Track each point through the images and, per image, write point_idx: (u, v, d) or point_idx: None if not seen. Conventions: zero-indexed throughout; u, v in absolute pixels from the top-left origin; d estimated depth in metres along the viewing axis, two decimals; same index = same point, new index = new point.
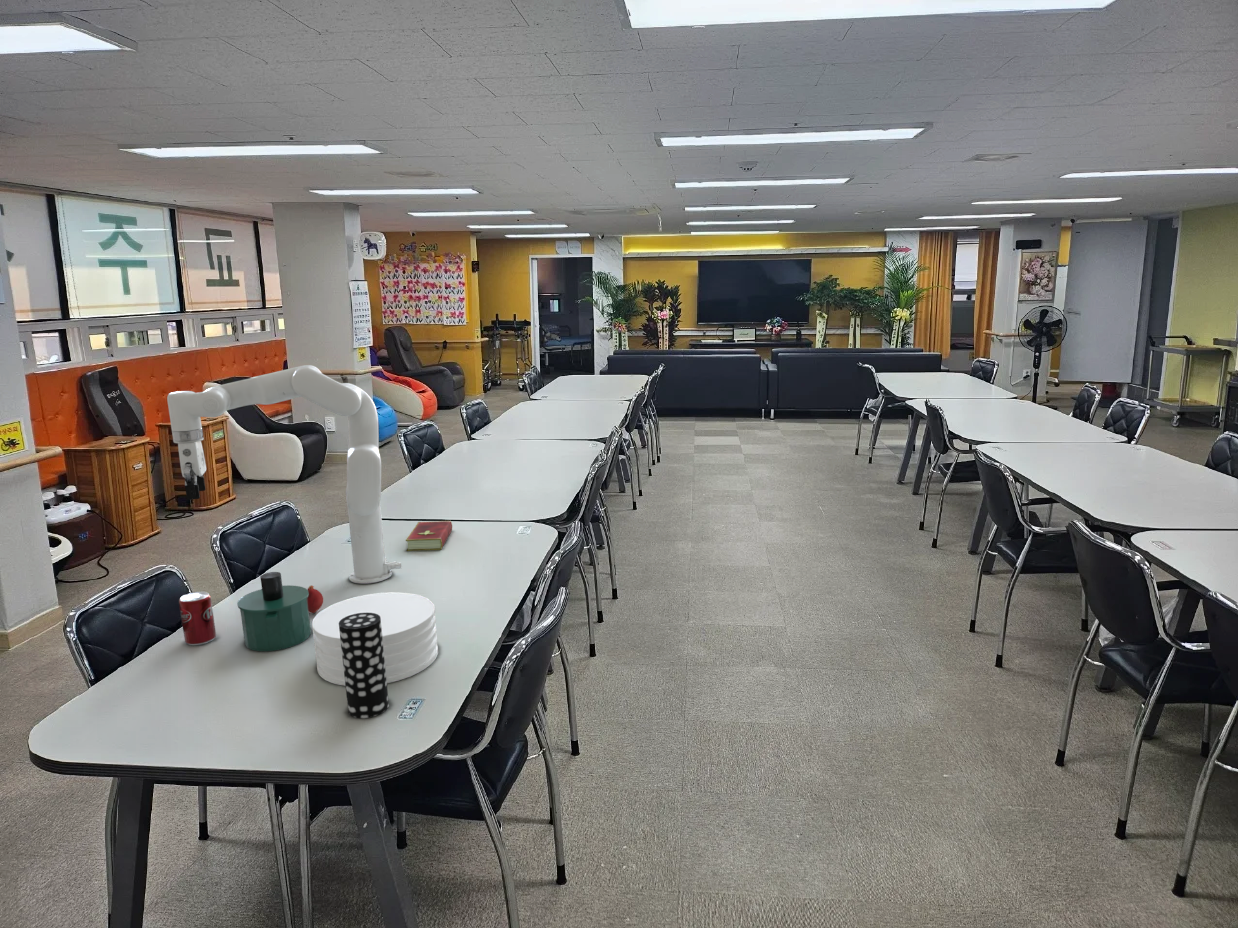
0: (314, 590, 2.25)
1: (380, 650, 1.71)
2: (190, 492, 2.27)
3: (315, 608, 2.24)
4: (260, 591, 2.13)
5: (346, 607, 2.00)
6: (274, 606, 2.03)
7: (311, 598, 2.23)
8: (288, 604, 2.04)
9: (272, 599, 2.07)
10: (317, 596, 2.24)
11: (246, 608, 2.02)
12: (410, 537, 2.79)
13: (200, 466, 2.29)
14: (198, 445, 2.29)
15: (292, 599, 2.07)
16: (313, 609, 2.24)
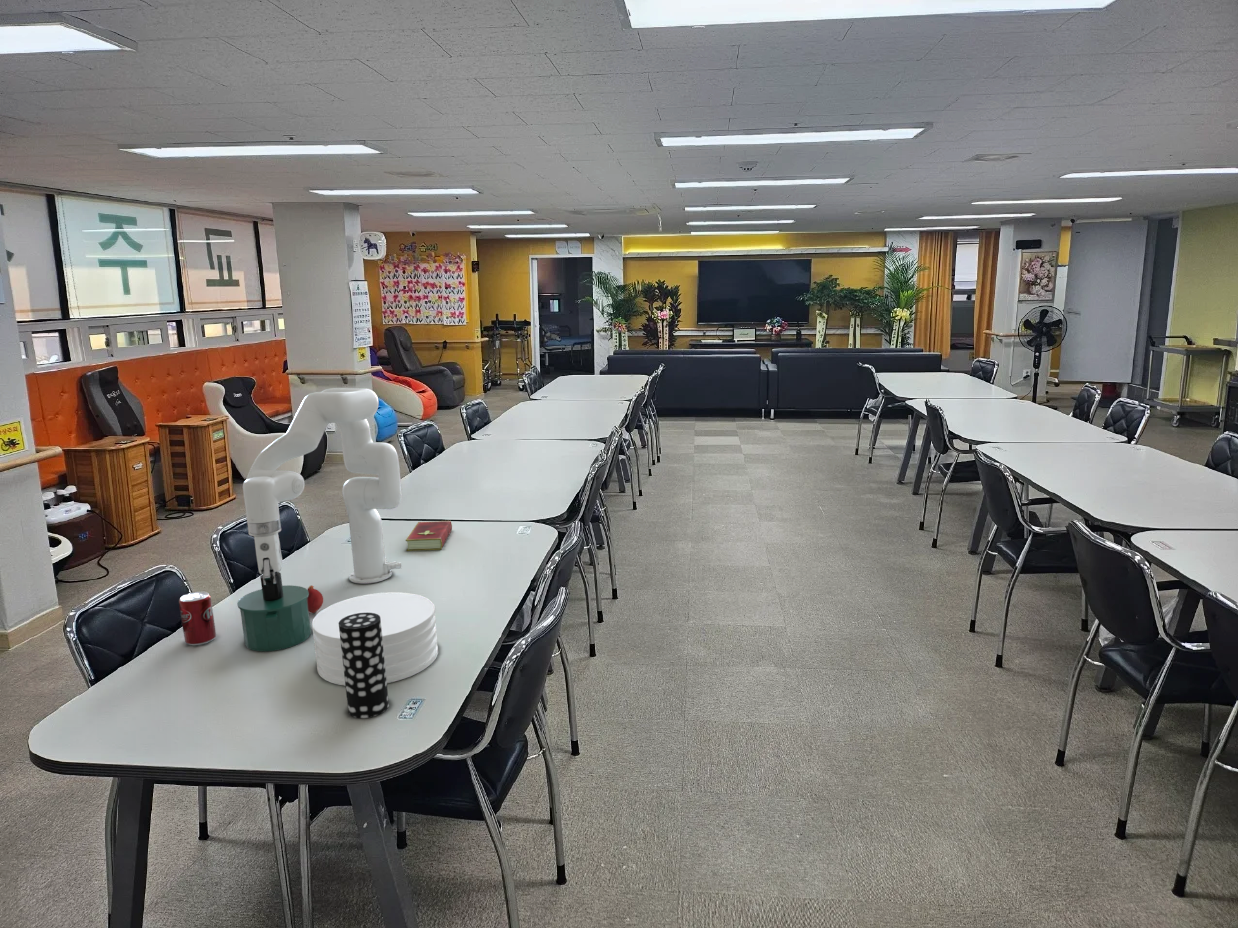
0: (314, 590, 2.25)
1: (380, 650, 1.71)
2: (269, 592, 2.05)
3: (315, 608, 2.24)
4: (260, 591, 2.13)
5: (346, 607, 2.00)
6: (274, 606, 2.03)
7: (311, 598, 2.23)
8: (288, 604, 2.04)
9: (272, 599, 2.07)
10: (317, 596, 2.24)
11: (246, 608, 2.02)
12: (410, 537, 2.79)
13: (278, 561, 2.04)
14: (276, 537, 2.04)
15: (292, 599, 2.07)
16: (313, 609, 2.24)
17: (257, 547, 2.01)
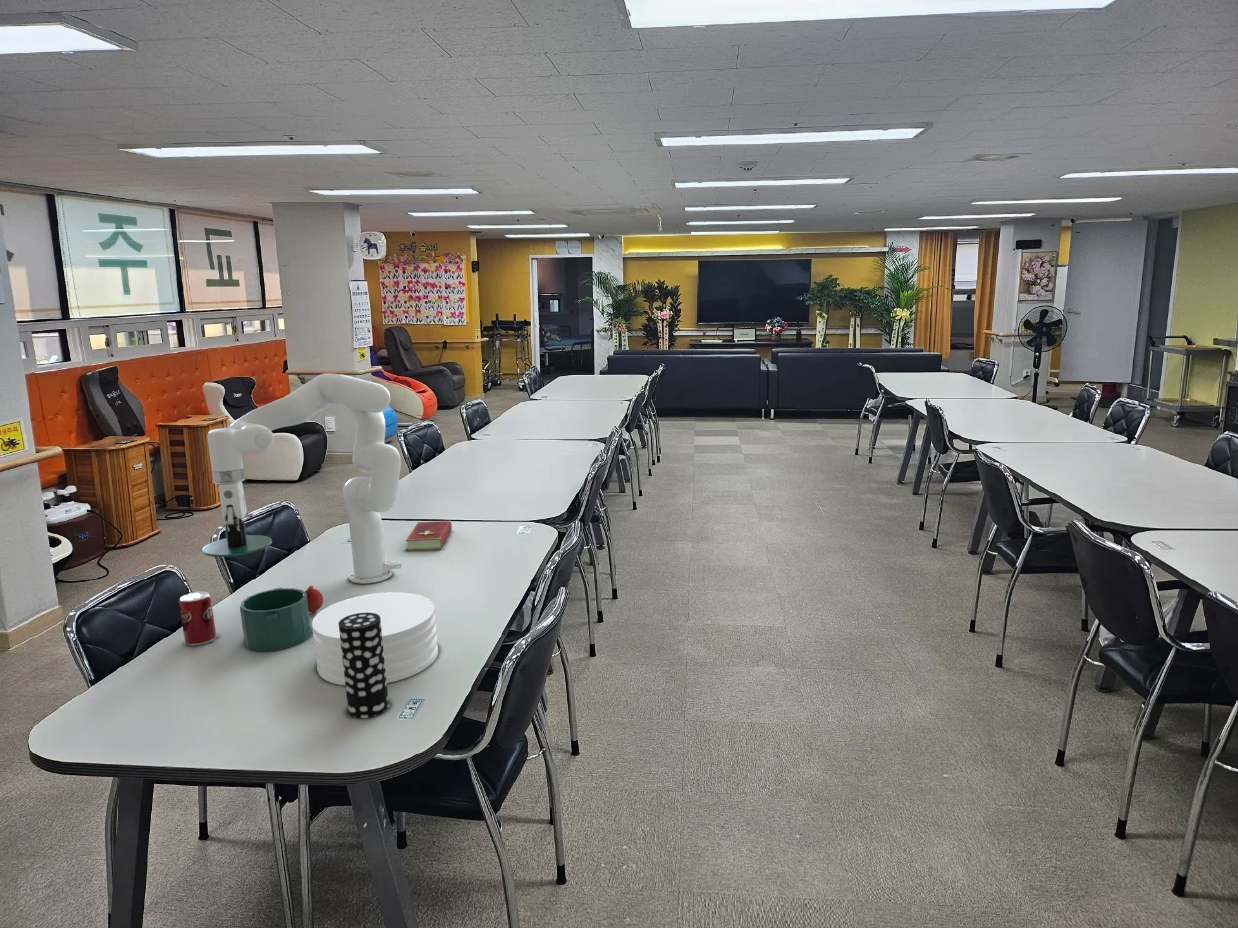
0: (314, 590, 2.25)
1: (380, 650, 1.71)
2: (232, 538, 2.14)
3: (315, 608, 2.24)
4: (225, 539, 2.23)
5: (346, 607, 2.00)
6: (238, 551, 2.12)
7: (311, 598, 2.23)
8: (251, 550, 2.13)
9: (236, 546, 2.16)
10: (317, 596, 2.24)
11: (210, 553, 2.11)
12: (410, 537, 2.79)
13: (242, 508, 2.13)
14: (240, 486, 2.14)
15: (255, 546, 2.17)
16: (313, 609, 2.24)
17: (221, 494, 2.10)
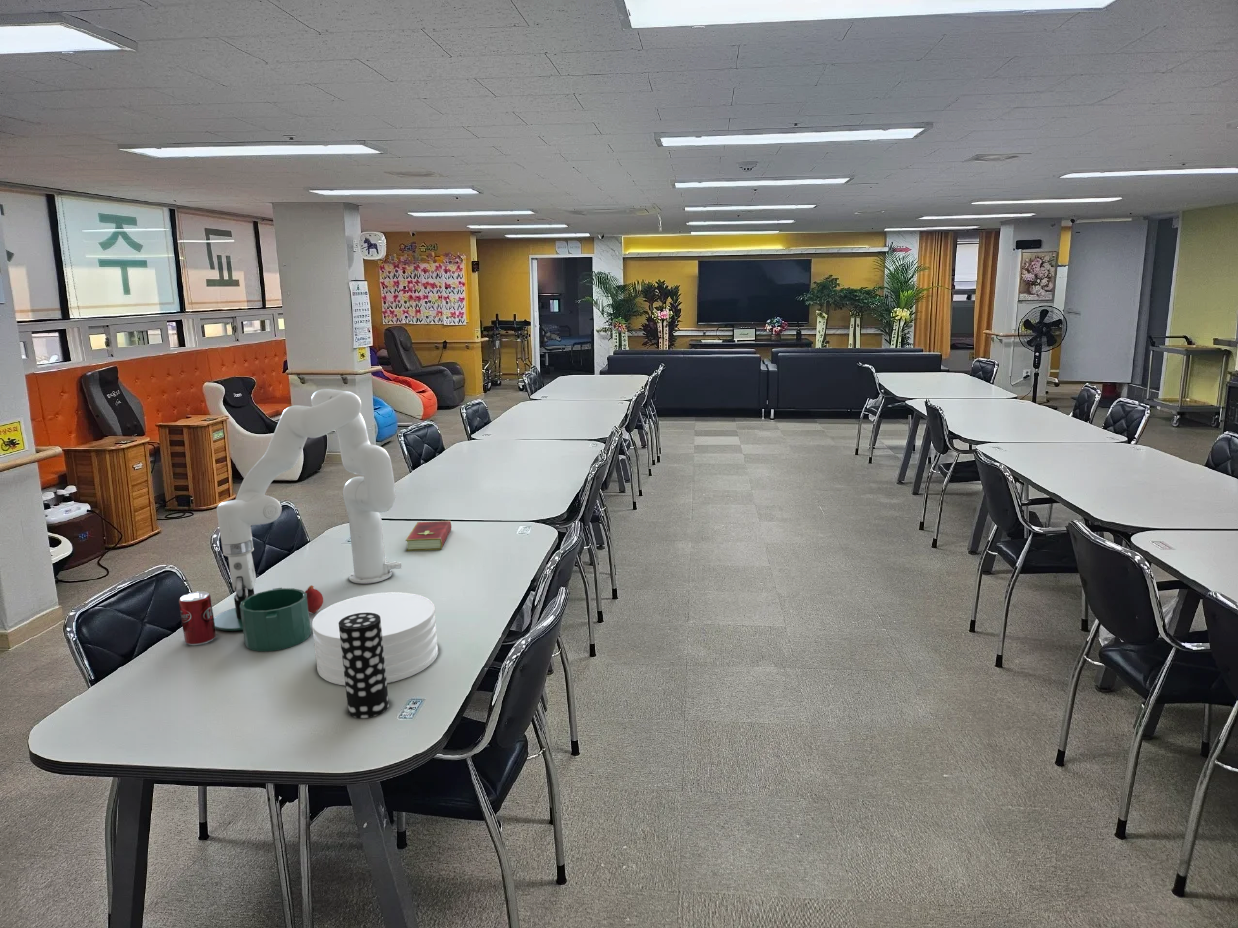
0: (314, 590, 2.25)
1: (380, 650, 1.71)
2: None
3: (315, 608, 2.24)
4: (234, 609, 2.27)
5: (346, 607, 2.00)
6: None
7: (311, 598, 2.23)
8: None
9: None
10: (317, 596, 2.24)
11: (220, 626, 2.16)
12: (410, 537, 2.79)
13: (251, 579, 2.18)
14: (249, 557, 2.18)
15: None
16: (313, 609, 2.24)
17: (231, 566, 2.15)
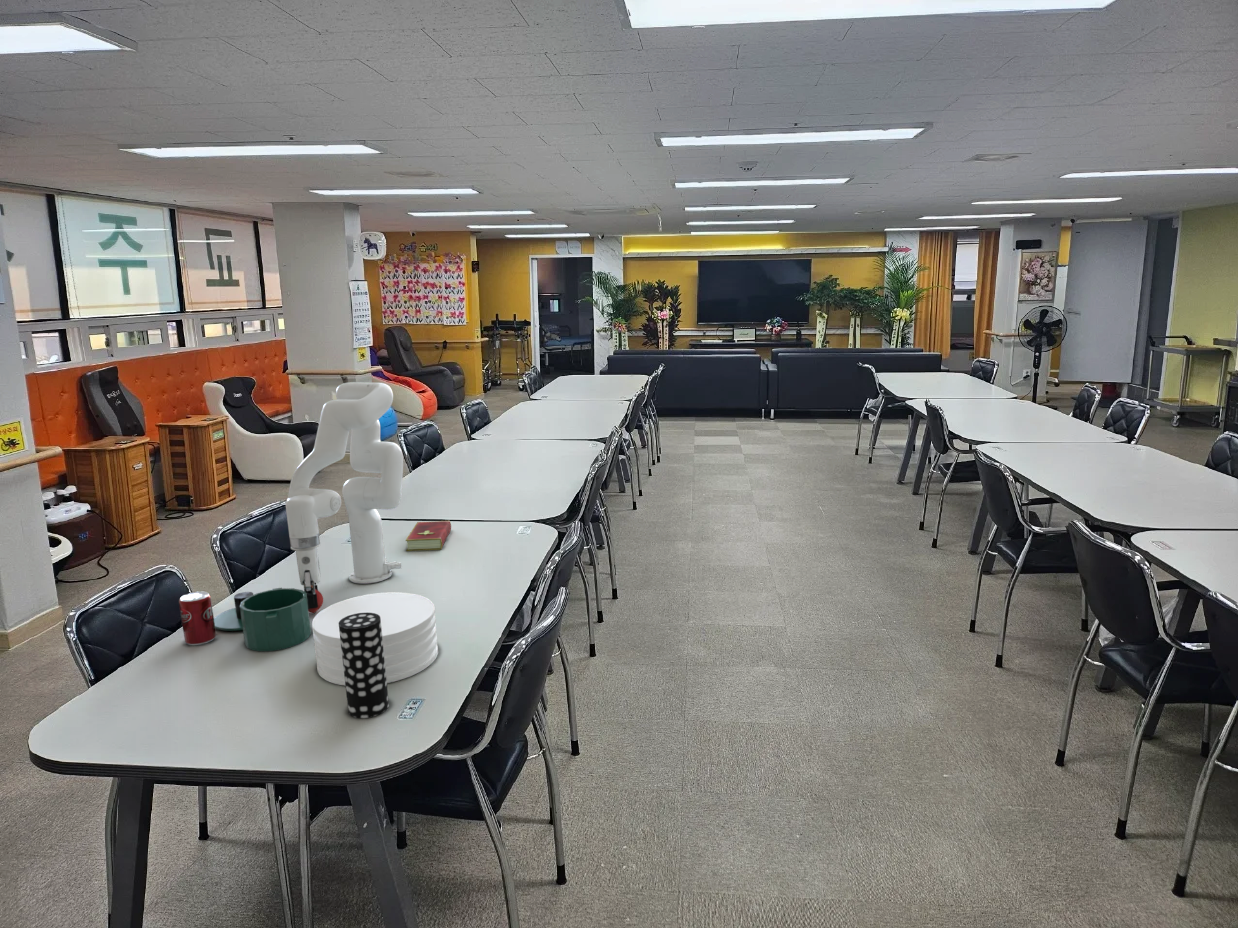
0: None
1: (380, 650, 1.71)
2: (309, 602, 2.21)
3: (315, 608, 2.24)
4: (234, 609, 2.27)
5: (346, 607, 2.00)
6: None
7: None
8: None
9: None
10: (317, 596, 2.24)
11: (220, 626, 2.16)
12: (410, 537, 2.79)
13: (318, 573, 2.21)
14: (316, 551, 2.22)
15: None
16: (313, 609, 2.24)
17: (299, 560, 2.18)
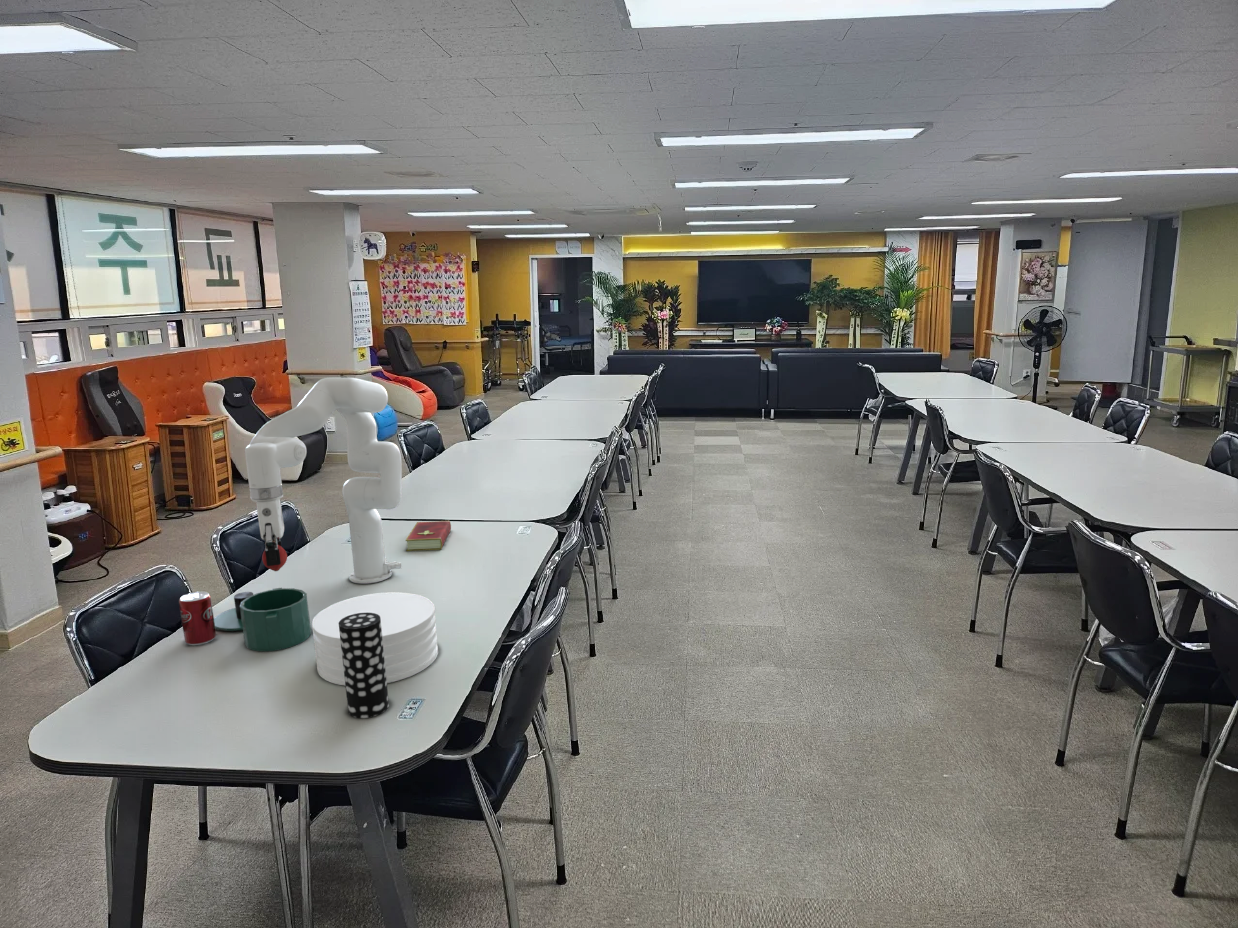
0: None
1: (380, 650, 1.71)
2: (270, 558, 2.05)
3: (278, 565, 2.07)
4: (234, 609, 2.27)
5: (346, 607, 2.00)
6: None
7: None
8: None
9: None
10: (280, 552, 2.07)
11: (220, 626, 2.16)
12: (410, 537, 2.79)
13: (280, 526, 2.04)
14: (278, 503, 2.05)
15: None
16: (275, 566, 2.07)
17: (259, 512, 2.01)
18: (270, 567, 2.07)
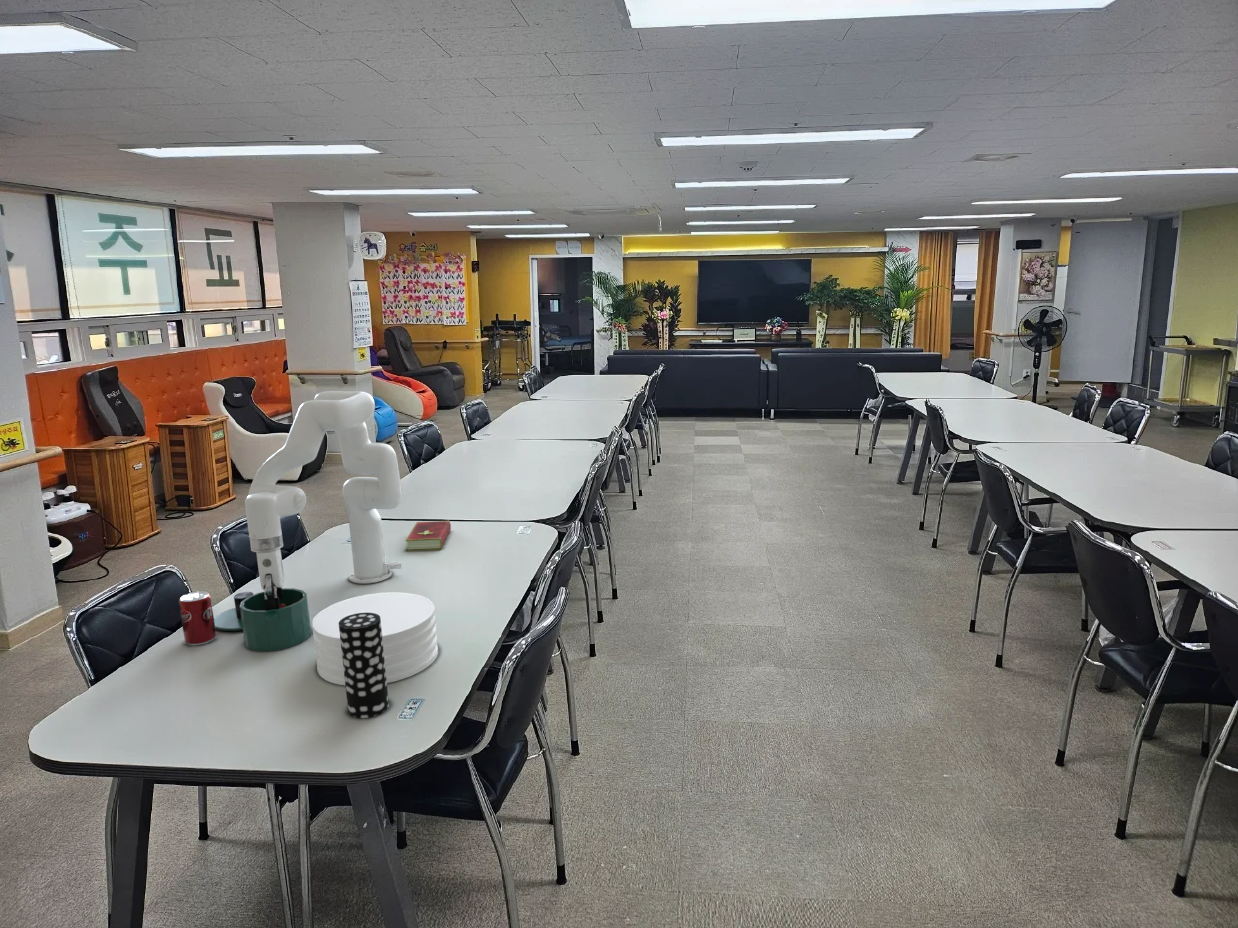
0: None
1: (380, 650, 1.71)
2: (270, 606, 2.03)
3: None
4: (234, 609, 2.27)
5: (346, 607, 2.00)
6: None
7: None
8: None
9: None
10: None
11: (220, 626, 2.16)
12: (410, 537, 2.79)
13: (281, 576, 2.05)
14: (278, 553, 2.05)
15: None
16: None
17: (259, 563, 2.02)
18: None
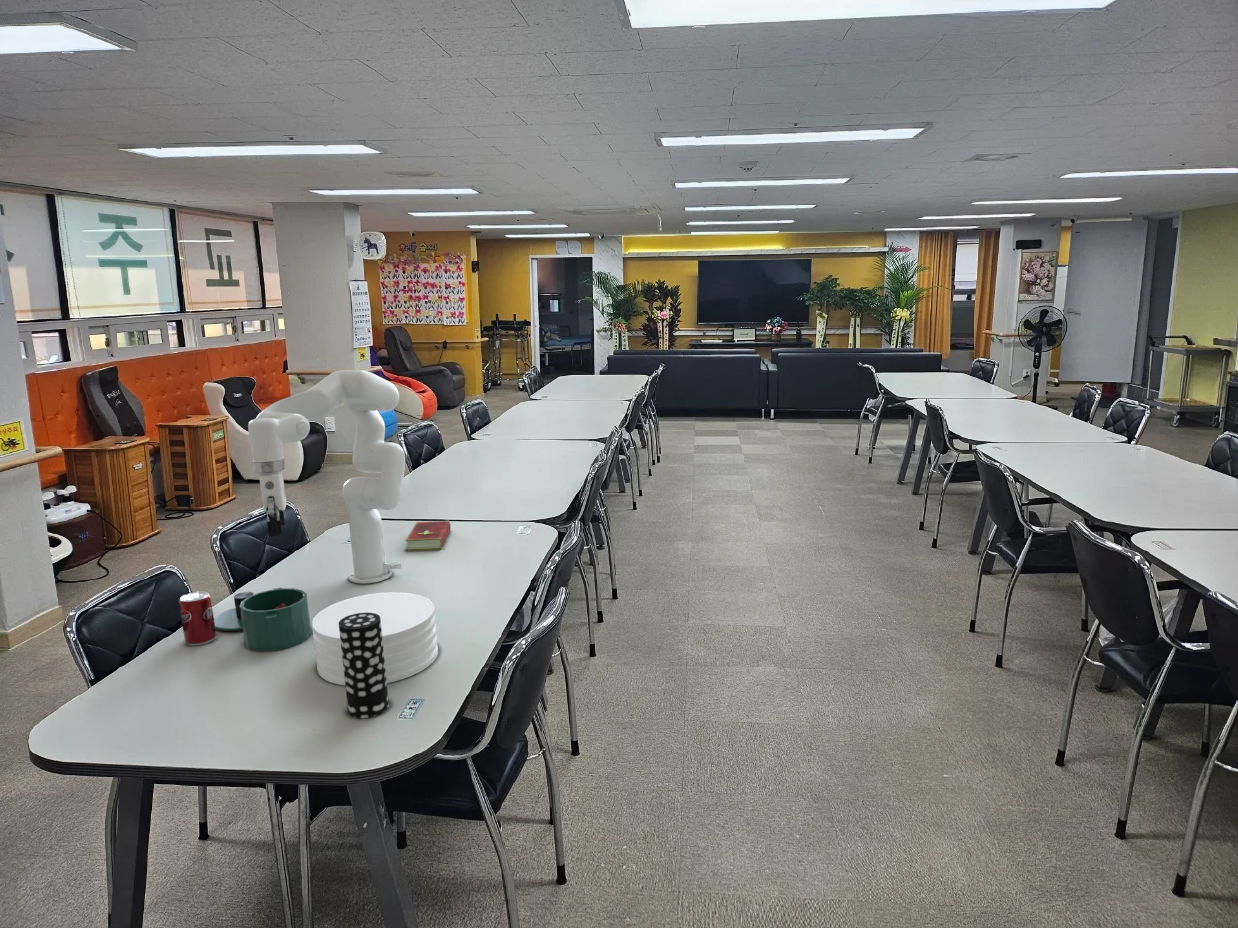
0: None
1: (380, 650, 1.71)
2: (272, 529, 2.07)
3: None
4: (234, 609, 2.27)
5: (346, 607, 2.00)
6: None
7: None
8: None
9: None
10: None
11: (220, 626, 2.16)
12: (410, 537, 2.79)
13: (283, 500, 2.09)
14: (280, 477, 2.09)
15: None
16: None
17: (262, 485, 2.06)
18: None
